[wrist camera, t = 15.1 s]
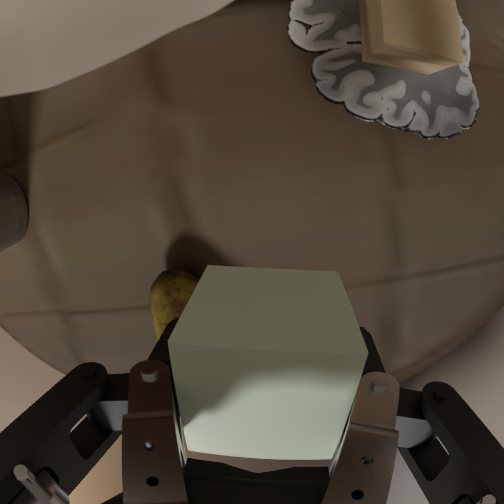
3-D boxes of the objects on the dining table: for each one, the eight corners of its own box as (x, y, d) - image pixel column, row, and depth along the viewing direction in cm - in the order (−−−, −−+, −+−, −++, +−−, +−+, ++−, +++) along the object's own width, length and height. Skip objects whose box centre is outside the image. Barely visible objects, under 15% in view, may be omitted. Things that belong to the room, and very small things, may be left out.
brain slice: (253, -15, 21) (250, -28, 18) (405, -45, 17) (414, -57, 14) (341, 169, 26) (347, 173, 24) (485, 121, 23) (502, 121, 20)
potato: (237, 258, 30) (221, 299, 22) (250, 363, 34) (241, 416, 27) (156, 262, 31) (121, 300, 24) (181, 361, 35) (160, 409, 28)
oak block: (362, 61, 20) (383, 42, 15) (358, 0, 18) (376, -30, 13) (428, 74, 20) (463, 62, 14) (423, 14, 18) (453, -8, 12)
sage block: (212, 364, 14) (188, 449, 9) (207, 264, 12) (167, 341, 7) (320, 370, 14) (331, 459, 9) (337, 271, 12) (368, 352, 7)
